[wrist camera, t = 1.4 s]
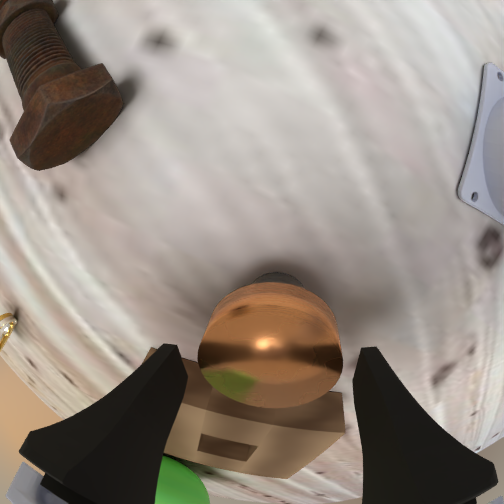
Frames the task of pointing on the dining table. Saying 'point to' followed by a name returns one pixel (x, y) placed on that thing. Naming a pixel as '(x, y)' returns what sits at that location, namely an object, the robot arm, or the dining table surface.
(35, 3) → the bolt
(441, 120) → the dining table surface
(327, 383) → the orange short cylinder
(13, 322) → the ring
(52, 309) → the dining table surface
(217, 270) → the dining table surface
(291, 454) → the block
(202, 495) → the toy bird
